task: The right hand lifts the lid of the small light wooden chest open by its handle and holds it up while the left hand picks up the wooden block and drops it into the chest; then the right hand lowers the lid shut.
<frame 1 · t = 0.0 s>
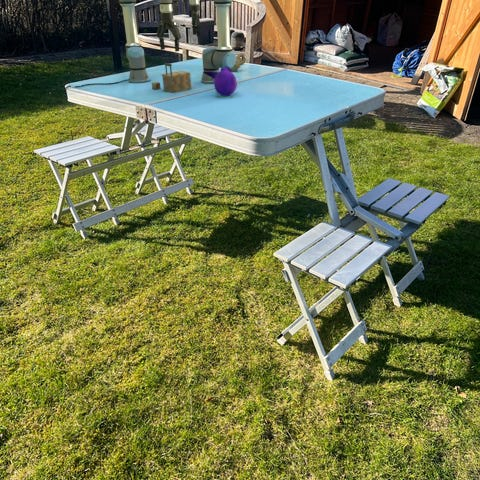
left hand: (196, 35, 349), 28 cm above the table, tool pointing down, fingers open, 13 cm apart
right hand: (169, 50, 279), 28 cm above the table, tool pointing down, fingers open, 13 cm apart
chest: (177, 89, 311), on the table
toy: (222, 94, 297), on the table
block: (156, 88, 315), on the table
teapot: (233, 71, 368), on the table
lid: (175, 68, 304), point 14 cm above the table, hinge at -0.1°
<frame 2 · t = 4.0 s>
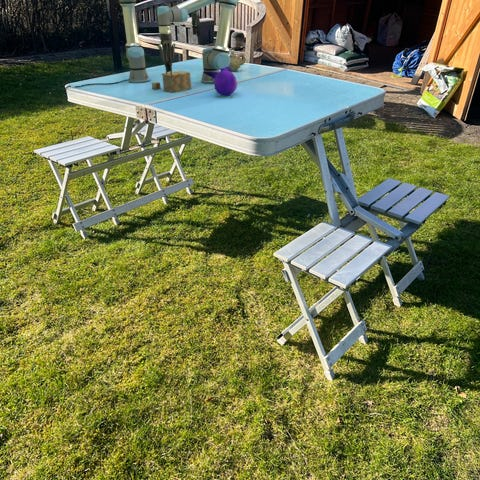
left hand: (196, 35, 349), 28 cm above the table, tool pointing down, fingers open, 13 cm apart
right hand: (169, 71, 301), 13 cm above the table, tool pointing down, fingers closed on lid, 2 cm apart
lid: (175, 68, 304), point 14 cm above the table, hinge at 1.6°, touching right hand
everything else where it was.
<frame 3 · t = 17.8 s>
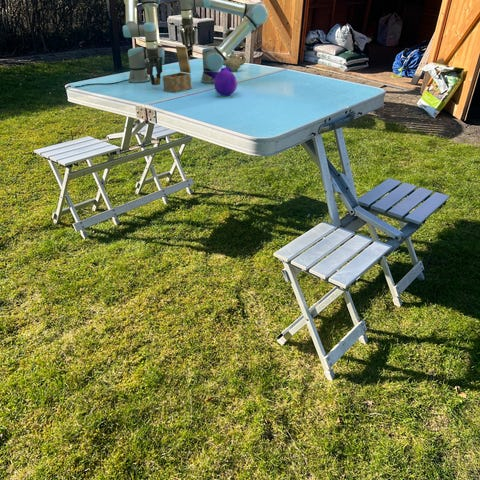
left hand: (156, 84, 314), 3 cm above the table, tool pointing down, fingers closed on block, 4 cm apart
right hand: (189, 55, 308), 21 cm above the table, tool pointing down, fingers closed on lid, 2 cm apart
block: (156, 84, 314), point 3 cm above the table, touching left hand
lid: (187, 58, 308), point 19 cm above the table, hinge at 82.1°, touching right hand
everything else where it was.
when the left hand's fingers open (17 cm above the table, at t = 20.9 s): block drops 16 cm, resting on chest.
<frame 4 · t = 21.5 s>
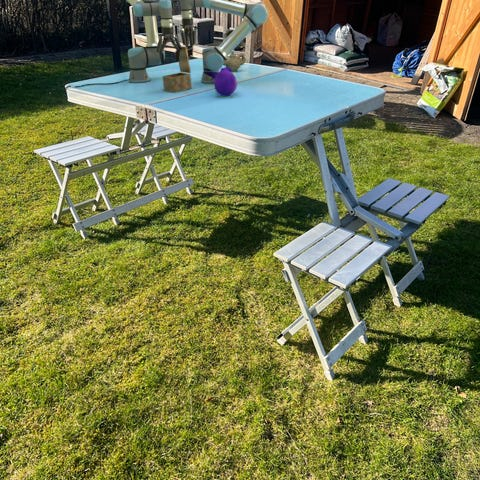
left hand: (170, 62, 299), 18 cm above the table, tool pointing down, fingers open, 12 cm apart
right hand: (190, 55, 309), 21 cm above the table, tool pointing down, fingers closed on lid, 2 cm apart
chest: (177, 89, 311), on the table, touching block
block: (173, 89, 308), point 1 cm above the table, touching chest
lid: (187, 58, 308), point 19 cm above the table, hinge at 83.0°, touching left hand, right hand
everything else where it was.
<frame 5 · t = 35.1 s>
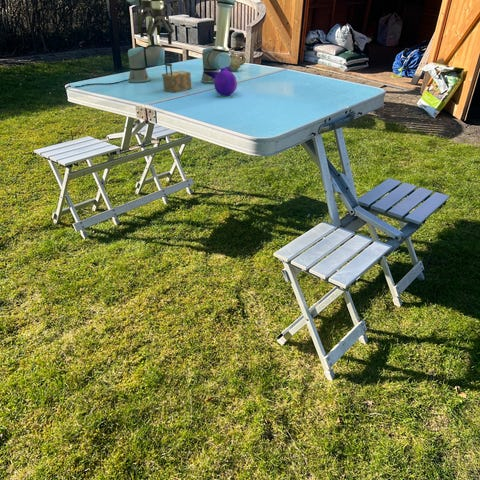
left hand: (150, 36, 298), 34 cm above the table, tool pointing down, fingers open, 13 cm apart
right hand: (161, 45, 290), 29 cm above the table, tool pointing down, fingers open, 13 cm apart
lid: (175, 68, 304), point 14 cm above the table, hinge at -0.1°
everything else where it was.
at the end: block inside the target area in the chest (3.9 cm from its centre), point 0.7 cm above the chest's base; lid at +0° (first picture: +0°); the left hand is holding nothing; the right hand is holding nothing; chest tilted 0°; chest moved 0.2 cm from its start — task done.
